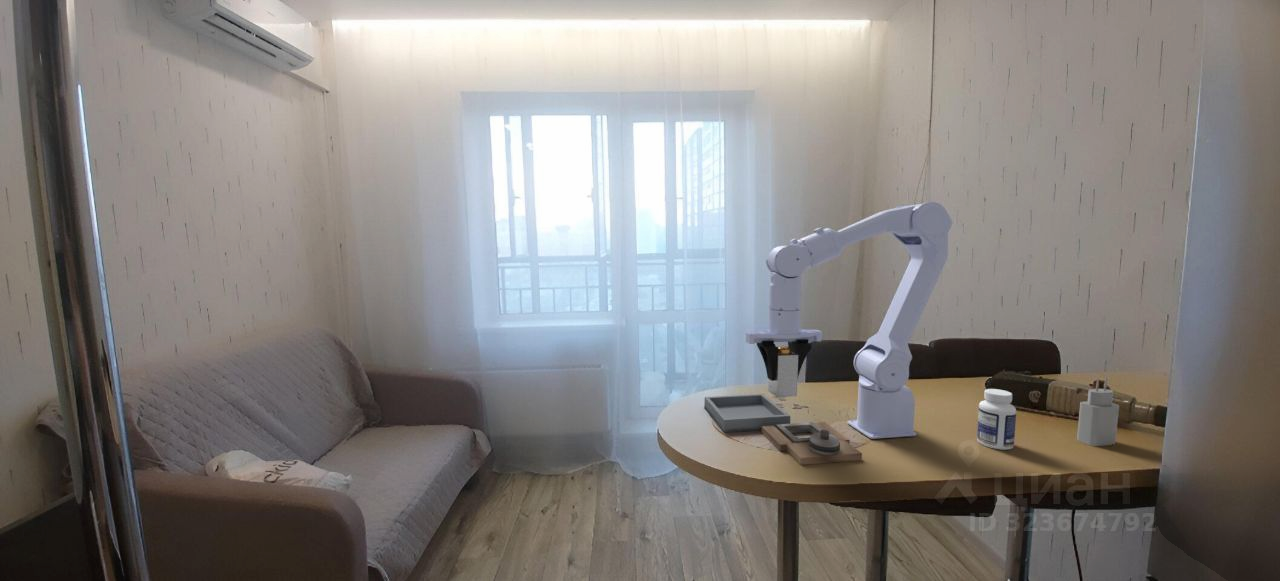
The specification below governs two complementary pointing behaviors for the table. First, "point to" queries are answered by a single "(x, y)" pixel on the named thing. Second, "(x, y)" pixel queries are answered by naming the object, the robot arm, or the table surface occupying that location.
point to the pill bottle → (996, 420)
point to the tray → (745, 412)
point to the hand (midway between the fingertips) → (782, 378)
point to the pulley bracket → (812, 443)
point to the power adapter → (1098, 418)
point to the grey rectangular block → (785, 374)
